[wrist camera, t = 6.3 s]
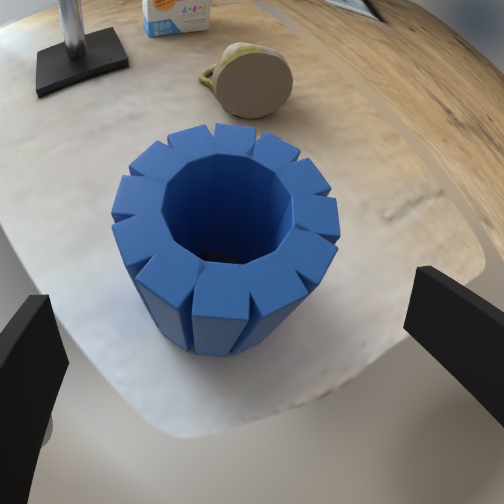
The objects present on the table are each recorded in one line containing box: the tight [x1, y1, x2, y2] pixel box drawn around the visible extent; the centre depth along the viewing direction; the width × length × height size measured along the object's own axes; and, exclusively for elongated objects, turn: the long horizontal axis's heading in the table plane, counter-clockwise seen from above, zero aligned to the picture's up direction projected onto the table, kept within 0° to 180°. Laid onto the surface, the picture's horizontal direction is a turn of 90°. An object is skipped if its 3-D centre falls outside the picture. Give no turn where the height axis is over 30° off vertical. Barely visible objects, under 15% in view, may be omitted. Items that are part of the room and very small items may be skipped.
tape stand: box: [36, 0, 129, 98], centre depth 23 cm, size 11×11×17 cm
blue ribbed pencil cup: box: [111, 124, 340, 357], centre depth 17 cm, size 9×9×10 cm
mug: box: [199, 42, 293, 119], centre depth 28 cm, size 8×10×10 cm
